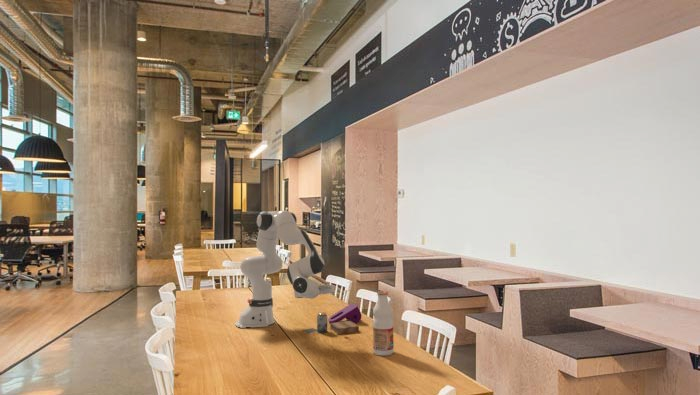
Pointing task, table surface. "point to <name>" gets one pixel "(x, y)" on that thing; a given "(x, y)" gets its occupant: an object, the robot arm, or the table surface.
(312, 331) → the gasket plate
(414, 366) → the table surface
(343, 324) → the stand
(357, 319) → the mounting bracket
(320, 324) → the grey can
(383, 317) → the fruit juice
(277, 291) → the table surface
